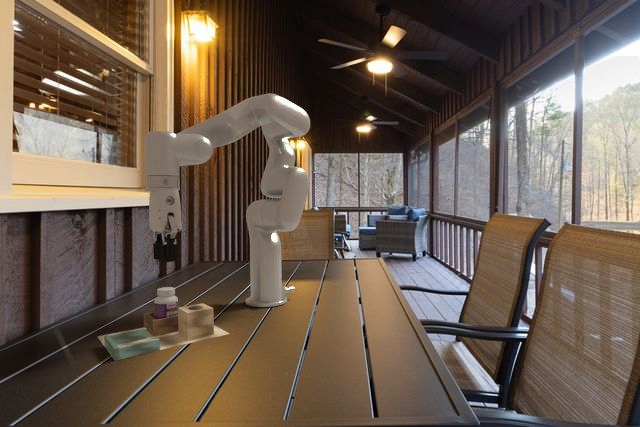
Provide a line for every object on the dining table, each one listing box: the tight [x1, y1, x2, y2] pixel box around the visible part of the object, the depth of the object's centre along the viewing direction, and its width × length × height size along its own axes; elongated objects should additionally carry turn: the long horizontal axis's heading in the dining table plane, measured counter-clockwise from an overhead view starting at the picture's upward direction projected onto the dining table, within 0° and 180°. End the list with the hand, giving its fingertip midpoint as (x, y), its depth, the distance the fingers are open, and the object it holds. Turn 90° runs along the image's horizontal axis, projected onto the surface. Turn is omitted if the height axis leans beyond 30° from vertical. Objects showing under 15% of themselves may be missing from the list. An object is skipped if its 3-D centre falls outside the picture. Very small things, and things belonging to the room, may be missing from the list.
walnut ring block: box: [143, 311, 178, 336], centre depth 97 cm, size 8×8×4 cm
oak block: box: [178, 302, 215, 340], centre depth 93 cm, size 6×6×6 cm
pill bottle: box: [153, 286, 179, 320], centre depth 97 cm, size 5×5×10 cm
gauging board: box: [96, 324, 231, 361], centre depth 92 cm, size 24×18×3 cm
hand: (164, 259), depth 96 cm, fingers open, 5 cm apart
